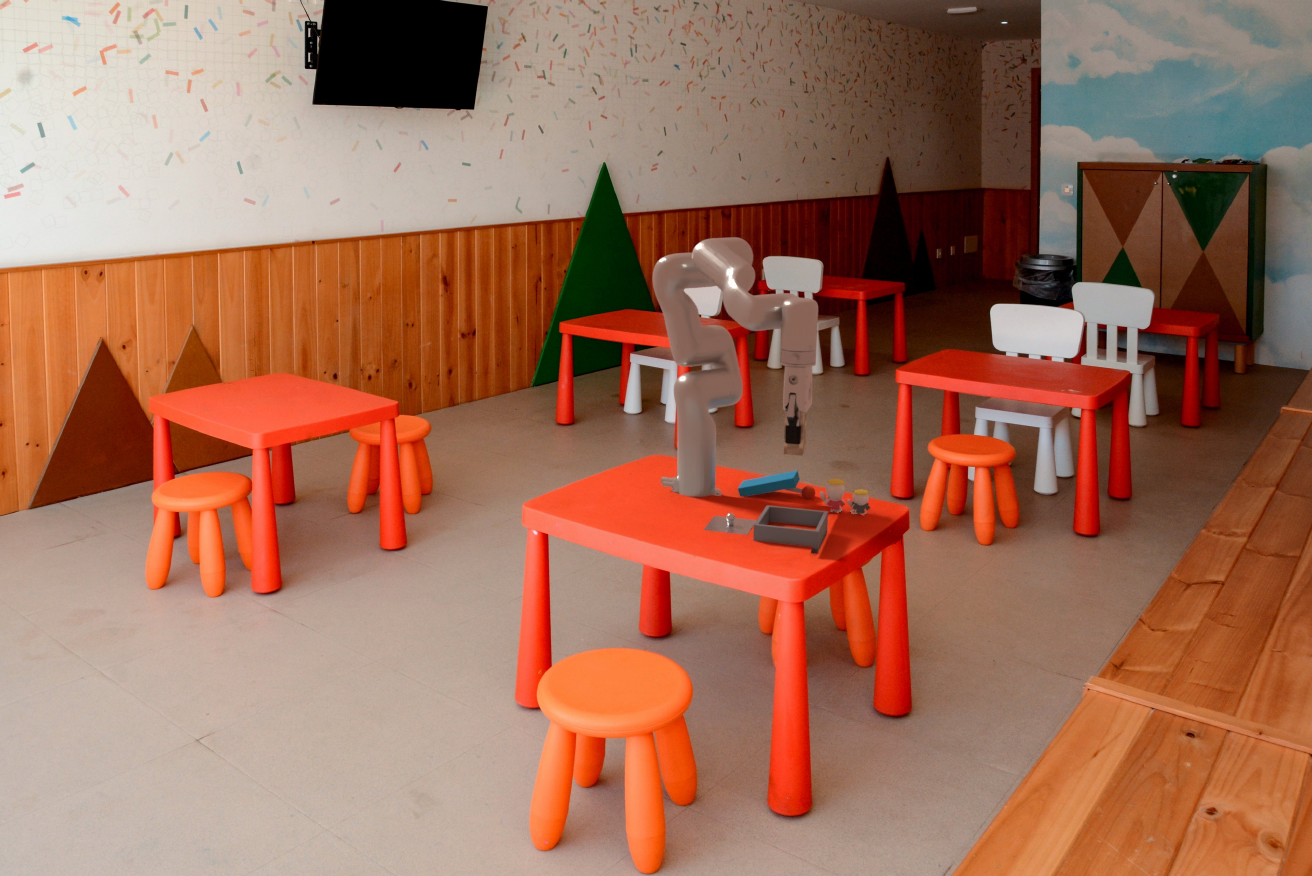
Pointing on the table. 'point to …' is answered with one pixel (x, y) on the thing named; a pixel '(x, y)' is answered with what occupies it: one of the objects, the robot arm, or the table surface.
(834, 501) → the toy figures
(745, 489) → the lever
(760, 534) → the bin
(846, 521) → the table surface
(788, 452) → the strut
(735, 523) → the square lid with knob
